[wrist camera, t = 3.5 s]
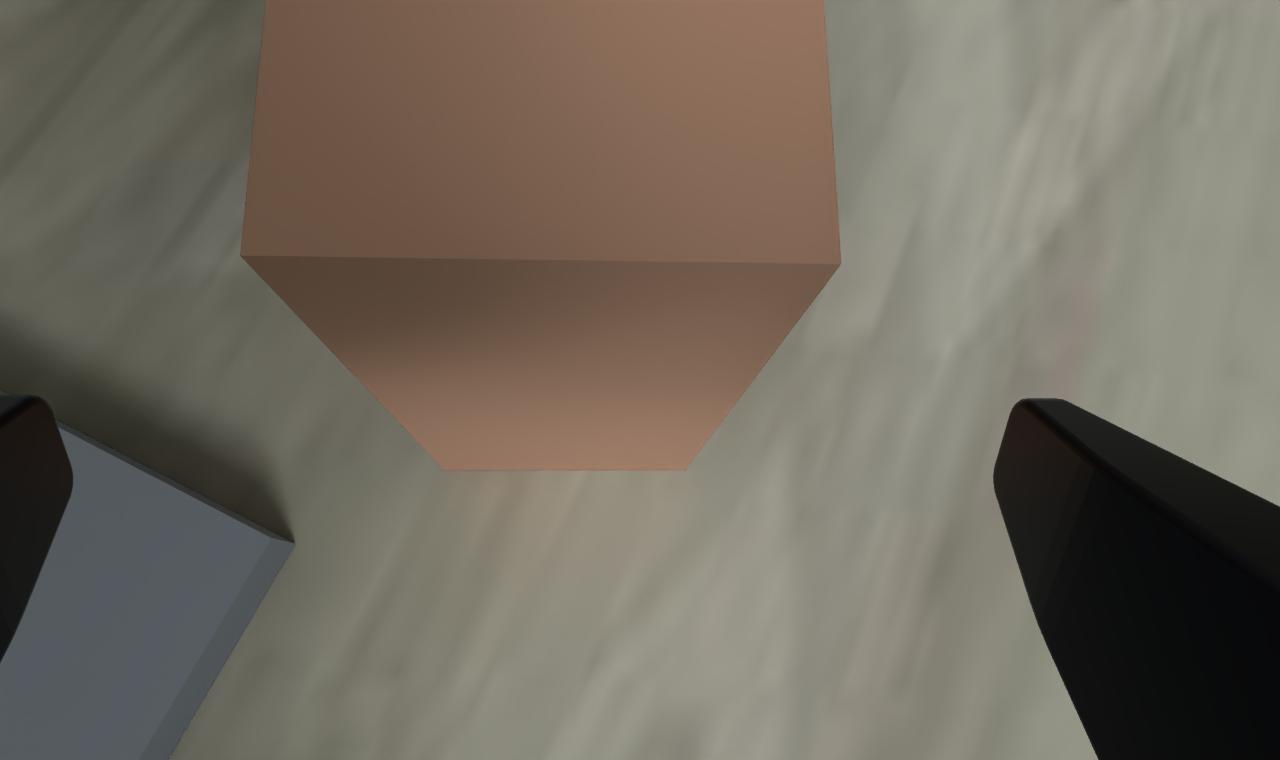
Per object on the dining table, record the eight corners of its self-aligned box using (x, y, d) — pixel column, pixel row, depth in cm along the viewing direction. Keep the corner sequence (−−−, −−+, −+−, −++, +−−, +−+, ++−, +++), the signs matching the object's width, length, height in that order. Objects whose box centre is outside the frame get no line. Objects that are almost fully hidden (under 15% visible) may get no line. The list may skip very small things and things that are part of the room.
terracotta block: (685, 469, 20) (841, 265, 8) (444, 470, 19) (239, 255, 8) (680, 247, 21) (809, -215, 9) (453, 244, 20) (289, -239, 9)
